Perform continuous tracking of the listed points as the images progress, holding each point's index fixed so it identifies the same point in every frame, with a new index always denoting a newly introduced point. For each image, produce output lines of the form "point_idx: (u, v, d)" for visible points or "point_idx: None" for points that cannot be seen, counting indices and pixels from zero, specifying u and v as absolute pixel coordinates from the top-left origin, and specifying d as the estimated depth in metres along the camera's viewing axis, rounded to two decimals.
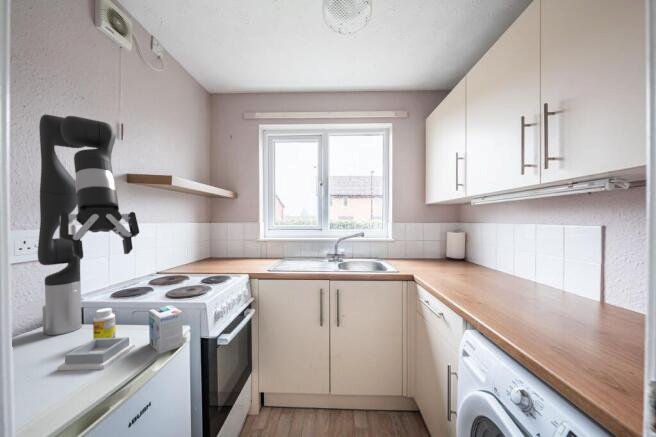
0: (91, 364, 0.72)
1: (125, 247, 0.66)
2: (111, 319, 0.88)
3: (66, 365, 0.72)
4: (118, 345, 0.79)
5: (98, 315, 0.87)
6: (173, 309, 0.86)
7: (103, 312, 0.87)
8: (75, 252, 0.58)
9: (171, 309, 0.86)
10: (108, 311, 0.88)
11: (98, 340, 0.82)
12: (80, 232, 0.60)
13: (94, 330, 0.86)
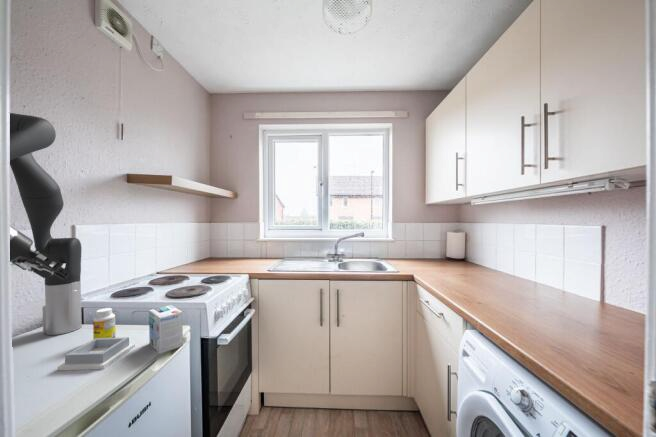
0: (91, 364, 0.72)
1: None
2: (111, 319, 0.88)
3: (66, 365, 0.72)
4: (118, 345, 0.79)
5: (98, 315, 0.87)
6: (173, 309, 0.86)
7: (103, 312, 0.87)
8: None
9: (171, 309, 0.86)
10: (108, 311, 0.88)
11: (98, 340, 0.82)
12: None
13: (94, 330, 0.86)
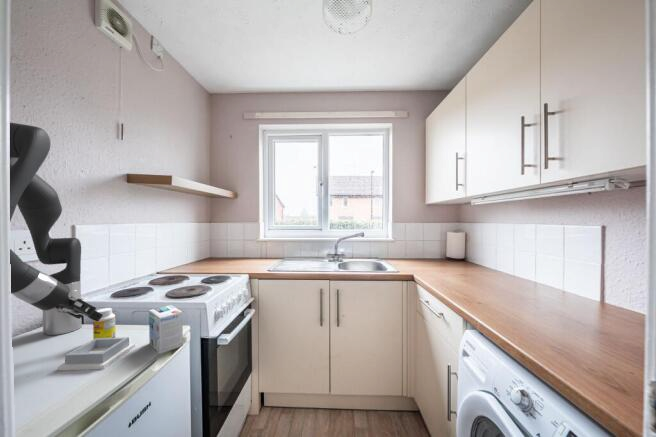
0: (91, 364, 0.72)
1: None
2: (111, 319, 0.88)
3: (66, 365, 0.72)
4: (118, 345, 0.79)
5: None
6: (173, 309, 0.86)
7: (103, 312, 0.87)
8: None
9: (171, 309, 0.86)
10: (108, 311, 0.88)
11: (98, 340, 0.82)
12: (63, 311, 0.82)
13: (94, 330, 0.86)
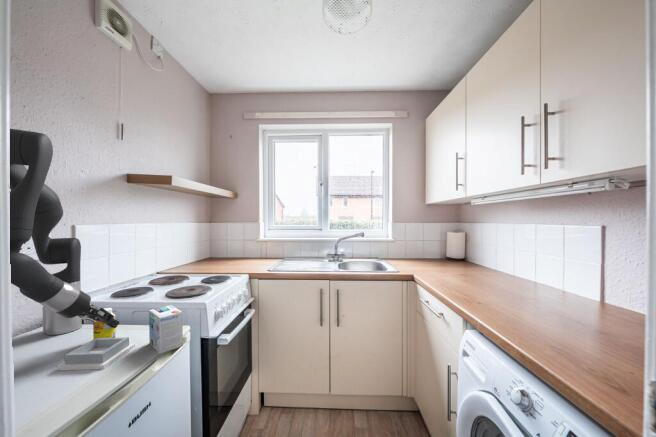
0: (91, 364, 0.72)
1: None
2: None
3: (66, 365, 0.72)
4: (118, 345, 0.79)
5: None
6: (173, 309, 0.86)
7: None
8: None
9: (171, 309, 0.86)
10: (108, 311, 0.88)
11: (98, 340, 0.82)
12: (87, 319, 0.87)
13: (94, 330, 0.86)
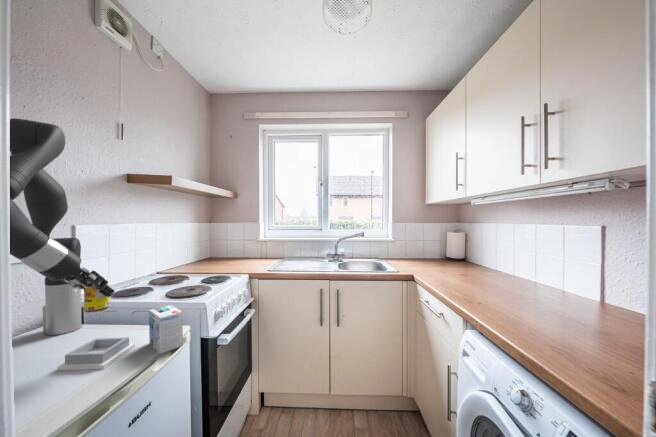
0: (91, 364, 0.72)
1: None
2: None
3: (66, 365, 0.72)
4: (118, 345, 0.79)
5: None
6: (173, 309, 0.86)
7: None
8: None
9: (171, 309, 0.86)
10: None
11: (98, 340, 0.82)
12: None
13: (85, 298, 0.75)
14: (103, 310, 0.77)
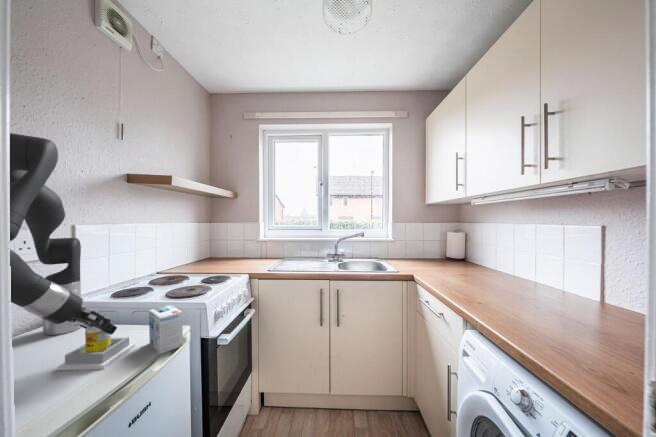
0: (91, 364, 0.72)
1: None
2: None
3: (66, 365, 0.72)
4: (118, 345, 0.79)
5: None
6: (173, 309, 0.86)
7: None
8: None
9: (171, 309, 0.86)
10: None
11: None
12: (75, 323, 0.76)
13: (86, 343, 0.75)
14: None
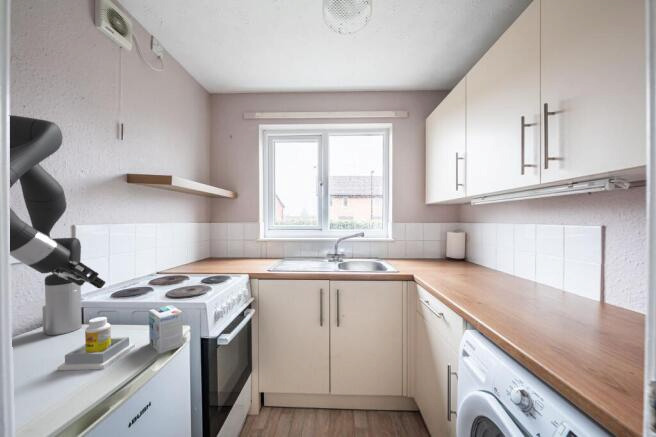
0: (91, 364, 0.72)
1: None
2: (106, 330, 0.77)
3: (66, 365, 0.72)
4: (118, 345, 0.79)
5: (91, 325, 0.76)
6: (173, 309, 0.86)
7: (97, 322, 0.76)
8: None
9: (171, 309, 0.86)
10: (103, 321, 0.77)
11: None
12: None
13: (86, 343, 0.75)
14: None
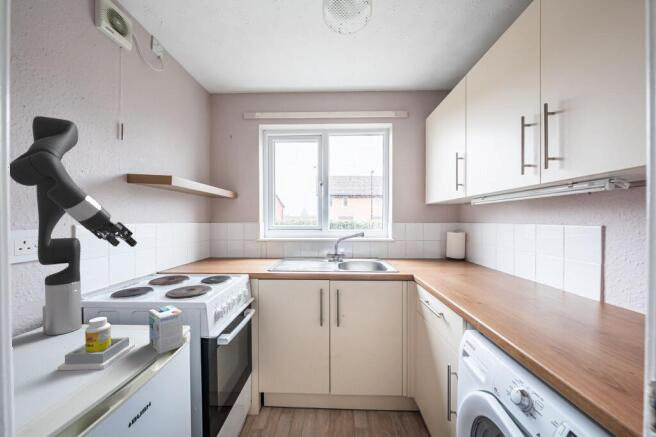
0: (91, 364, 0.72)
1: None
2: (106, 330, 0.77)
3: (66, 365, 0.72)
4: (118, 345, 0.79)
5: (91, 325, 0.76)
6: (173, 309, 0.86)
7: (97, 322, 0.76)
8: (112, 244, 0.96)
9: (171, 309, 0.86)
10: (103, 321, 0.77)
11: None
12: None
13: (86, 343, 0.75)
14: None
